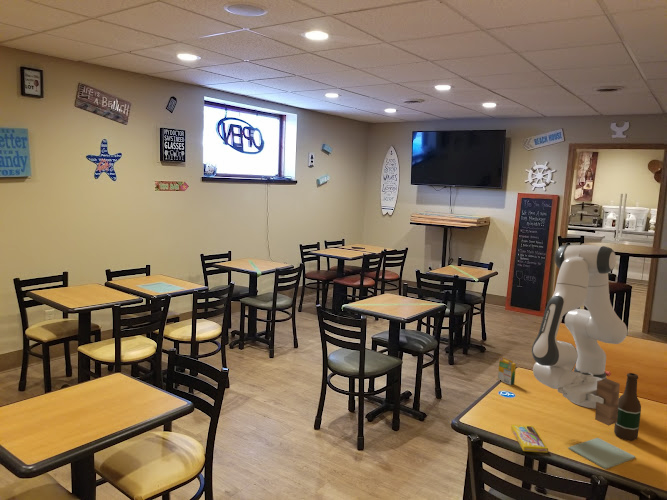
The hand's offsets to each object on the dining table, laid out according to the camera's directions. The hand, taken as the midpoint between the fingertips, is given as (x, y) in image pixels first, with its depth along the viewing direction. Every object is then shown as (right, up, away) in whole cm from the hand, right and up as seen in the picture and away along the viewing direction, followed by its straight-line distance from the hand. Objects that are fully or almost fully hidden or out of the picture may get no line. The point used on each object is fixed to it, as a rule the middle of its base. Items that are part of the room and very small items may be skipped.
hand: (609, 399), depth 172 cm
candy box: (-19, -17, +10) cm, 27 cm away
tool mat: (-1, -20, +3) cm, 20 cm away
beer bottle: (+15, -19, +16) cm, 29 cm away
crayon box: (-13, -11, +64) cm, 67 cm away
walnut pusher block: (0, -8, +2) cm, 8 cm away
